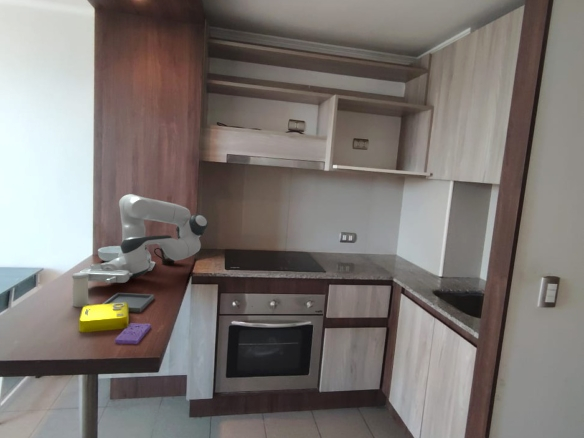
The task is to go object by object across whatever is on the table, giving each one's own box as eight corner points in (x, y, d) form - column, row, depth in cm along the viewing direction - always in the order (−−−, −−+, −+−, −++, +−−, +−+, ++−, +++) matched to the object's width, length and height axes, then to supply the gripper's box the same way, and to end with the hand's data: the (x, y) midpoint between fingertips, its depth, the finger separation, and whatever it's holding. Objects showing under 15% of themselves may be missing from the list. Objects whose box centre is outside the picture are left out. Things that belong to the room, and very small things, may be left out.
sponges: (150, 328, 128) (151, 323, 128) (137, 345, 116) (137, 340, 116) (130, 327, 128) (130, 322, 128) (114, 344, 116) (114, 339, 115)
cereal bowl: (97, 258, 211) (97, 246, 210) (129, 257, 219) (129, 245, 218) (97, 266, 196) (97, 253, 195) (131, 264, 204) (132, 251, 203)
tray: (117, 296, 154) (117, 292, 154) (153, 298, 155) (153, 294, 155) (99, 310, 140) (99, 305, 139) (139, 312, 140) (140, 308, 140)
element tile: (82, 316, 134) (82, 304, 133) (128, 312, 140) (128, 300, 140) (78, 334, 120) (78, 320, 120) (128, 329, 127) (128, 315, 126)
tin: (77, 301, 146) (77, 272, 145) (91, 302, 146) (91, 272, 145) (69, 306, 141) (69, 276, 139) (84, 307, 141) (83, 276, 140)
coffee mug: (179, 263, 212) (179, 246, 211) (168, 266, 204) (169, 248, 203) (163, 260, 217) (164, 243, 215) (152, 263, 209) (153, 245, 208)
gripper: (134, 279, 167) (121, 289, 154) (88, 277, 167) (71, 287, 153) (134, 266, 166) (121, 275, 153) (88, 263, 166) (70, 272, 152)
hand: (95, 281), depth 153 cm, fingers open, 8 cm apart
